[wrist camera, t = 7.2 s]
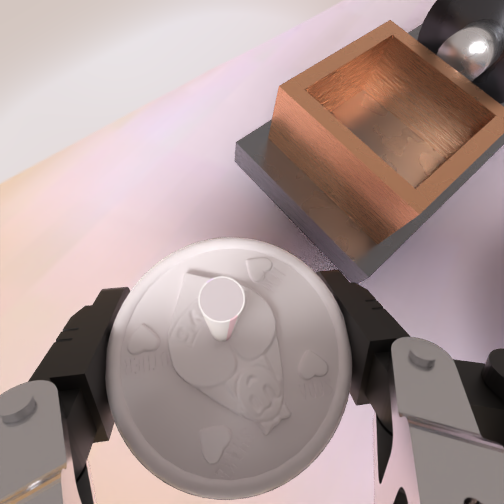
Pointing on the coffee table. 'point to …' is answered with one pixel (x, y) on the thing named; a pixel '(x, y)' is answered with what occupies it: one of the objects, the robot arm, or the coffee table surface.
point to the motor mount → (384, 132)
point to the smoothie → (228, 368)
